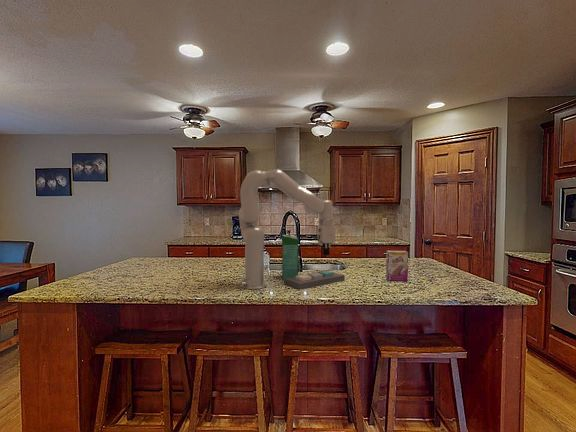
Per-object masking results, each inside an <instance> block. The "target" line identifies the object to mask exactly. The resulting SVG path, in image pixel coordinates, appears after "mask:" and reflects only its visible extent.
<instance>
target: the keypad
mask: <svg viewBox="0 0 576 432" xmlns="http://www.w3.org/2000/svg"><path fill="white" fill-rule="evenodd" d="M328 271H329V270H328ZM329 272H331V271H329ZM345 277H346V276H345V275H344V274H341V273H336V272H333V275H332V276H327V277H324V276H323V277H321V278H316V279H313V278H311V280H305V281H301V280H298V279H296V276H295V277H290V278H284V279H283V285H285V286H287V287H288V286H289V287H291V288H294V289H297V290H299V291H301V290H305V289H311V288H316V287H320V286H324V285H331V284H334V283H340V282H344V281H345V279H346V278H345Z"/></svg>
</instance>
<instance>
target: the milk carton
mask: <svg viewBox="0 0 576 432" xmlns="http://www.w3.org/2000/svg"><path fill="white" fill-rule="evenodd" d="M281 237H282V238H281V240H282V241H281V243H282V244H281V254H282V255H281V256H282V257H281V267H282V268H281V269H282V270H281V277H282V278H281V279H282V280H284V278H290V277H295V276H298V275H299V237H297V235H293V234H289V235H288V234H282V236H281Z"/></svg>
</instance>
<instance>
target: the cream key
mask: <svg viewBox="0 0 576 432" xmlns="http://www.w3.org/2000/svg"><path fill="white" fill-rule="evenodd" d="M296 279H298V280H301V281H305V280H311V276H308V275H307V274H300V275H299V274H298V276H296Z"/></svg>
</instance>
